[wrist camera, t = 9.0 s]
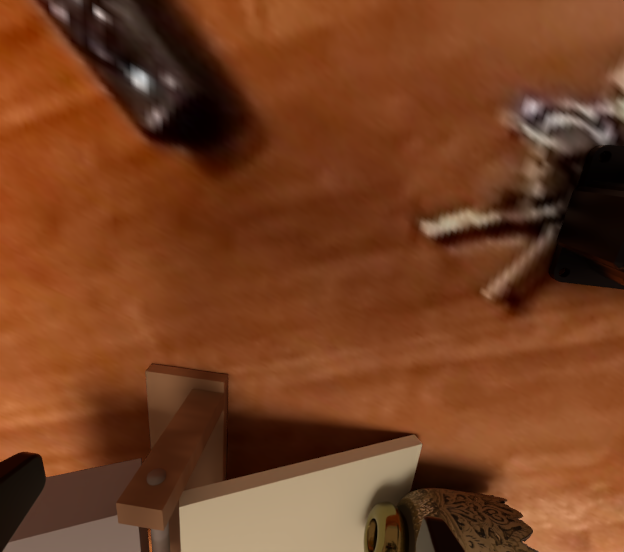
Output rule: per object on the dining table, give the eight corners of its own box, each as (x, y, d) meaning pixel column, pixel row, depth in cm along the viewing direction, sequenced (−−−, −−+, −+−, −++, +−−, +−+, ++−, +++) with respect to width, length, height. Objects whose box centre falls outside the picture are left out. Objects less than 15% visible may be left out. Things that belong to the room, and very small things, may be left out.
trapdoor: (391, 407, 24) (422, 443, 21) (364, 536, 29) (387, 581, 26) (-28, 492, 16) (-73, 572, 13) (22, 657, 20) (-3, 745, 17)
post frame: (228, 374, 22) (161, 496, 14) (224, 564, 28) (175, 726, 20) (152, 363, 22) (44, 477, 14) (164, 554, 28) (92, 709, 20)
